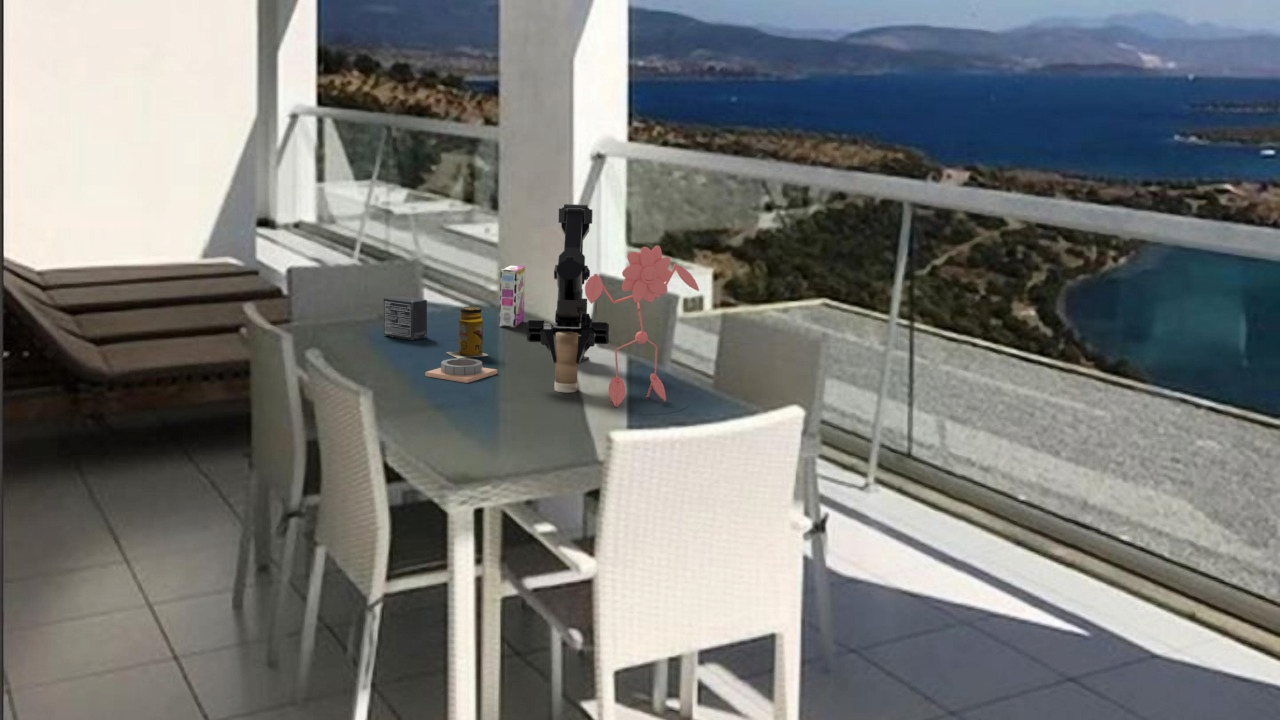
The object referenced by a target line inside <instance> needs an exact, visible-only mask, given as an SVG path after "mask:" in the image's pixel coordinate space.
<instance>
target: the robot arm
mask: <svg viewBox="0 0 1280 720" xmlns="http://www.w3.org/2000/svg"><path fill="white" fill-rule="evenodd" d="M593 212H594V211H593V209H591V208H589V205H588V204H573V203H572V204H571V203H570V204H569V203H567V204H566V203H564V204H563V207H562V208H561V207H560V208H558V223H559V224H560V223H561V231H562V233H563V234H564V245H563V246H564V248H563V251H562V252H561V253H560V254H559V255H558V261H557V262H558V263H557V264H555V266H554V269H553V278H554V280H557V281H556V284H557V301H556V310H555V319H554V322H555V325H554V324H552V323H545V319H537V318H536V319H534V318H532V319H531V318H529V319H528V320H527V321H526V325H525V327H526V330H525V331H526V340H527V342H530V343H540V344H541V345H542V346H545V347H546V349H547V350H548V352H549V354H550V357H551V360H552V363H553V364H555V355H556V344H555V337H554V336H556V333H557V332H563V331H569V332H576V333H578V356H577V364H578V365H579V364H580V363H581V362H585V361H587V360H590V357H589V356H585V354H586V353H587V352H588V350H589V349H590V348H591V347H592V348H593V347H595V345H607V344H609V343H610V342H609V341H610V323H609V322H608V321H607V320H605V321H604V320H602V321H601V320H599V321H598V320H593V319H592V317H591V316H590V313H588V298H584V297H583V293H584V292H583V291H584V290H583V285H585V281H588V279H589V278H590V277H591V270H590V269H589V265H586V257H585V254H583V253H584V240H585V238H586V237H587V235H588V234H589V232H590V224H593V215H594V214H593Z"/></svg>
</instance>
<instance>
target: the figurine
mask: <svg viewBox="0 0 1280 720" xmlns="http://www.w3.org/2000/svg"><path fill="white" fill-rule="evenodd" d="M626 259H627V261H628V263H629V265H627V266H626V267H625V268H624V269H623V271H622V272H621V273H622V277H624V280H623V281H622V284H621V290H622V291H623V292H630V291H632V295H628V296H626V297H621V298H620V299H616V300H614V299H613V297H612V296H611V294H610V293H609V292H608V290H607V288H606V287H605V285H604V283H603V281H602V278H601V277H600V276H599V275H598V273H594V274H593V275H592V276H590V277H588V279H587V280H586V283H585V284H584V285H585V286H584V294H585V296H586V299H587V301H589V303H590V304H591V305H592V304H594V303H595V302H596V301H597V300H598V299H599V298H600V297H601V294H602V293H603V291H604V292H605V294H606V296H607V297H608V298H609V300H610V301H611V303H612V304H613V305H615V304H617V303H620V302H623V301H626V300H629V299H631V298H632V299H633V302H634V303H636V304H637V313H638V320H639V324H640V331H637V332H636V334H635V336H634V340H632V341H630V342H628V343H626V344H623V345H620V346H619V347H617V348H615V349H614V356H615V371H616V373H615V375H616V376H615V377H612V378H611V380H610V382H609V385H608V395H609V398H610V399H609V401H610V402H611V401H612V404H613V405H614V407H615V408H617V407H618V406H619V405H620V404H621V403H622V402H623V400H624V399H625V396H626V385H625V381H624V380H623V379H622V377H620V376H619V369H618V368H619V367H618V350H620V349H622V348H625V347H627V346H629V345H631V344H634V343H636V342H637V344H639V345H640V344H641V345H643V344H645V343H646V342H648V343H650V344H651V345H653V346H654V347H655V353H654V354H655V356H654V373H651V374H650V375H649V380H650V385H649V388H648V391H647V394H646V397H650V394H651V391H652V389H653V391H654V392H655V394H657V396H658V397H659V398H660V399H661V400H663V402H667V396H666V389H665V387H664V384H663V382H662V380H661V379H660V378H659V376H658V375H657V362H658V359H657V358H658V345H656V343H654V342H652V341H651V340H650V339H648V336H649V335H648V334H647V333H646V332H645V331H644V327H643V319H642V310H641V303H640V302H641V301H642V300H644V301H646V302H647V303H652V302H654V300H655V298H661V296H663V295H666V294H667V292H668V284H669V282H670V281H671V278H672V277H673V275H674V273H675V271H676V273H677V275H678V277H679V278H680V279H681V280H682V281H683V283H685V284H686V285H687V286H688V287H689V288H691V289H693V290H695V291H697V292H700V289H699V286H698V283H697V282H696V279H695V278H694V277H693V275H692V274H691V273H690V272H689V271H688V270H687V269H686V268H685V267H683V266H682V265H679V264H677V263H674V265H673V269H671V270H670V269H669V268H670V265H671V257H669V256H665V257H663V251H662V249H661V247H660V245H655V246H654V247H652V249H650V248H649V247H648V246H642V247H641V248H640V252H637V251H630V252H629V253H628V254H627V255H626ZM646 397H645V398H646Z"/></svg>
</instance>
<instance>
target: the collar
mask: <svg viewBox="0 0 1280 720" xmlns="http://www.w3.org/2000/svg"><path fill="white" fill-rule="evenodd" d="M424 374H425V377H429V378H435V379H440V380H446V381H447V380H448V381H451V382H452V381H453V382H460V383H466V384H468V383H471V382H475V381H477V380H481V379H485V378H487V377H491V376H495V375H498V369H495V368H488V367H483V361H482V360H479V359H474V358H468V357H465V358H456V357H455V358H449V359H448V358H447V359H444V360H442V361H441V363H440V367H437V368H435V369H431V370H428V371H425V373H424Z"/></svg>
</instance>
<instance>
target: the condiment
mask: <svg viewBox="0 0 1280 720" xmlns="http://www.w3.org/2000/svg"><path fill="white" fill-rule="evenodd" d="M459 316H460V317H459V319H458V351H446V354H448V355H450V356H451V357H455V359H456V358H478V357H486V356H487V357H488V356H489V354H487V353H484V343H483V342H484V337H483V336H484V333H483V332H484V322H483V321H484V320H483V318H482V316H483V315H482V308H481V307H478V306H463V307H461V308H460V313H459Z"/></svg>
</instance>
